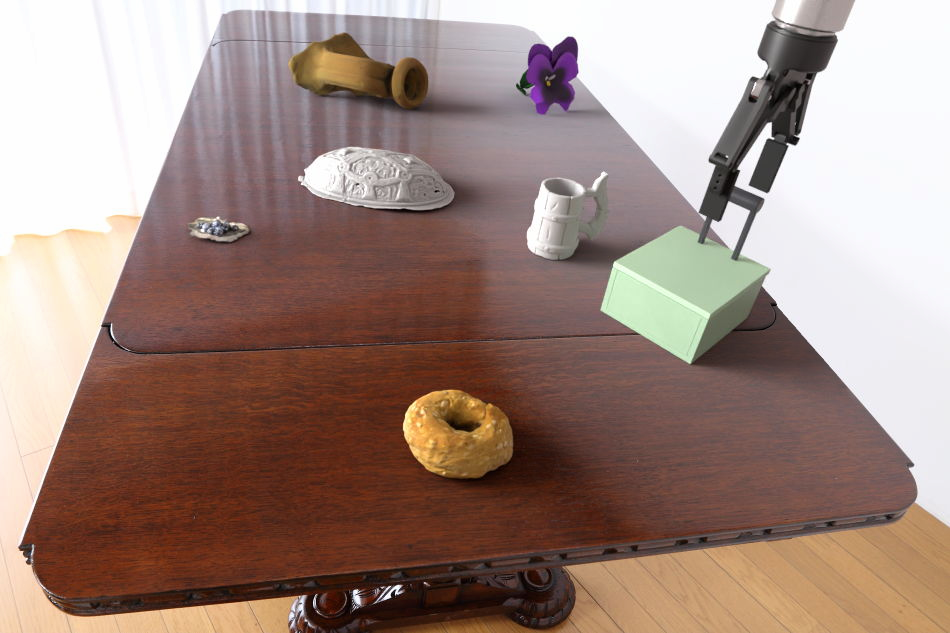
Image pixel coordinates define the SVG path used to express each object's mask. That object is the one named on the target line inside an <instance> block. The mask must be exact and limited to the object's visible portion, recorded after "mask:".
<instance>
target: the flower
mask: <svg viewBox="0 0 950 633" xmlns="http://www.w3.org/2000/svg"><path fill="white" fill-rule="evenodd" d="M578 58H579V44H578V41H577V39H576V38H575V37H574V36H566V37H565V38H564V39H562V41H561V42H560V43H558V44H556V45H555V46H553V48H552V49H551V48H550V46H548V45H547V44H543V43H534V44H533V45H532V46H531V47H530V49H529V51H528V54H527V69H526V70H525V71H524V72H523V73H522V74H521V78H520V79H519V82H516V84H515V87H516V89H517V91H519V92H520V93H521V94H522V95H524V96H526V95H527V91H526V90H528V89H530V97H529V98H530V99H531V100H532V101H533V102H534V103H535V111H536V114H537V115H538V114H539V115H546V114H547V113H548V111H549V109H550V107H551V106H552V105H553V104H557V105H558V106H560V107H561V108H562V109H563V111H564V112H567V111H568V110H569V109H570V107H571V104H572V102H573V101H574V100H575V95H576V91H575V88H574V87H573V86H574V85H572V84H571V83H569V82H571V81H572V80H574V79H576V78H577V76H578V74H579V73H580V71H579V64H578ZM525 89H526V90H525Z"/></svg>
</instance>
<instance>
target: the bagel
mask: <svg viewBox="0 0 950 633" xmlns="http://www.w3.org/2000/svg"><path fill="white" fill-rule="evenodd" d="M404 416H405V417H404V421H403V424H402V426H403V427H402V431H403V433H404V439H405V440H406V442H407V444H408V445H409V449H410V451H411V453H412V455H413V456H414V458H415V459H416V460H417V461H418V462H419V463H420V464H421V465H423V467H424V468H425V469H426V470H428V472H430V473H433V474H436V475H438V476H441V477H444V478H449V479H459V480H460V479H479V478H481V477H483V476H484V475H486V473H489V472H490V471H495V470H497V469H498V468H499V467H501V466H503V465H506V464H507V463H508V462H509V461H510V460H511V458H512V457H513V453H514V449H513V447H514V436H513V429H512V427H511V425H510V421H509V417H508V416H507V415H506V413H505V412H504V411H502V410H501V409H500V407H497V406H496V405H493V404H492V403H488V404H487V403H485V402H483V401H482V400H481V399H479V398H475V397H473V396H472V395H470V394H469V393H467V392H465V391H463V390H459V389H443V390H435V391H431V392H430V393H428V394H425V395H422V396H421V397H420V398H417V399H416V400H414V401H413V403H412V404H410V405H409V407H408V408H407V411H406V412H405V415H404Z"/></svg>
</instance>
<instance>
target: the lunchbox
mask: <svg viewBox="0 0 950 633" xmlns="http://www.w3.org/2000/svg"><path fill="white" fill-rule="evenodd" d="M611 268H612V269H611V272H610V276H609V279H608V283H607V286H606V289H605V293H604V296H603V299H602V303H601V307H600V312H602V313H604V314H606V315H607V316H609V317H610V318H612V319H614V320H616V321H617V322H619V323H620V324H623V325H624V326H626V327H627V328H629V329H631V330H632V331H634V332H635V333H637V334H639V335H640V336H642V337H644V338H645V339H647V340H649V341H650V342H652V343H654V344H655V345H657V346H659V347H661V348H662V349H664V350H666V351H667V352H669V353H671V354H672V355H674V356H675V357H677V358H679V359H681V360H682V361H684V362H685V363H687V364H689V365H692V364H693V363H694V362H695V361H696V360H698V359H699V358H700V357H701V356H702V355H703V354H705V353H706V352H707V351H709V350H710V349H711V348H713V346H715V345H716V344H717V343H718V342H720V341H721V340H722V339H723V338H725V337H726V336H727V335H728V334H729V333H731V332H732V331H733V330H734V329H736V328H737V327H738V326H739V325H740V324H742V323H743V322H744V321H746V320H747V319H748V317H749V315H750V313H751V310H752V309H753V306H754V304H755V302H756V300H757V298H758V295H759V292H760V290H761V289H762V286H763V284H764V282H765V279H766V277H767V276H765V277H764V278H763V279H761V280H760V281H759V282H757V283H756V284H755V285H754V286H752V287H751V288H750V289H748V290H747V291H746V292H744V293H743V294H742V295H740V296H739V297H738V298H736V299H735V300H734V301H732V302H731V303H730V304H729V305H727V306H726V307H725V308H723V309H722V310H721V311H719V312H718V313H717V314H715V315H714V316H713V317H711V318H710V319H709V320H708V319H706V318H705V317H703V316H701V315H699V314H697V313H696V312H694V311H692V310H690V309H688V308H687V307H685V306H683V305H681V304H679V303H678V302H676V301H674V300H672V299H670V298H669V297H667V296H665V295H663V294H661V293H659V292H658V291H656V290H654V289H652V288H650V287H649V286H647V285H645V284H643V283H641V282H640V281H638V280H636V279H634V278H632V277H631V276H629V275H627V274H625V273H623V272H621V271H620V270H618V269H616V268H614V267H613V266H612V267H611Z"/></svg>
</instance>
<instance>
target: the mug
mask: <svg viewBox="0 0 950 633" xmlns="http://www.w3.org/2000/svg"><path fill="white" fill-rule="evenodd" d="M608 178H609V173H608V172H607V171H602V172H601V173H600V177H598V178H596V179H595V181H594V183H593V184H592V187H584V185H582V184H581V183H580V182H578V181H576V180H572V179H569V178H565V177H549V178H546V179H544V180H543V181H542V182H541V185H540V188H539V192H538V196H537V197H536V199H535V201H534V213H533V216H532V217H533V218H532V222H531V225H530V226H529V227H528V229H527V232H526V240H527V247H528V250H530V251H531V252H532V253H533V254H535V255H536V256H539V257H542V258H545V259H547V260H553V261H558V260H559V261H561V260H567V259H569V258H570V257H572V256H573V255H574V254H575V250H576V249H577V248H578V246H579V241H580V239H579V238H580V237H579V233H583V234H585V235H586V236H587V237H588V239H589V240H591V241H594V240H595V239H596V237H597V235H599V234H600V233H601V232H602V230H603V229H604V227H605V225H606V221H607V219H608V217H609V215H610V208H609V207H610V206H609V199H608ZM586 198H593V199H594V201H595V204H596V208H595V213H594V215H593V216H592V217H591V218H590V220H589V221H588V222H586V221H584V220H582V219H583V217H584V213H585V207H584V205H585V200H586Z"/></svg>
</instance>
